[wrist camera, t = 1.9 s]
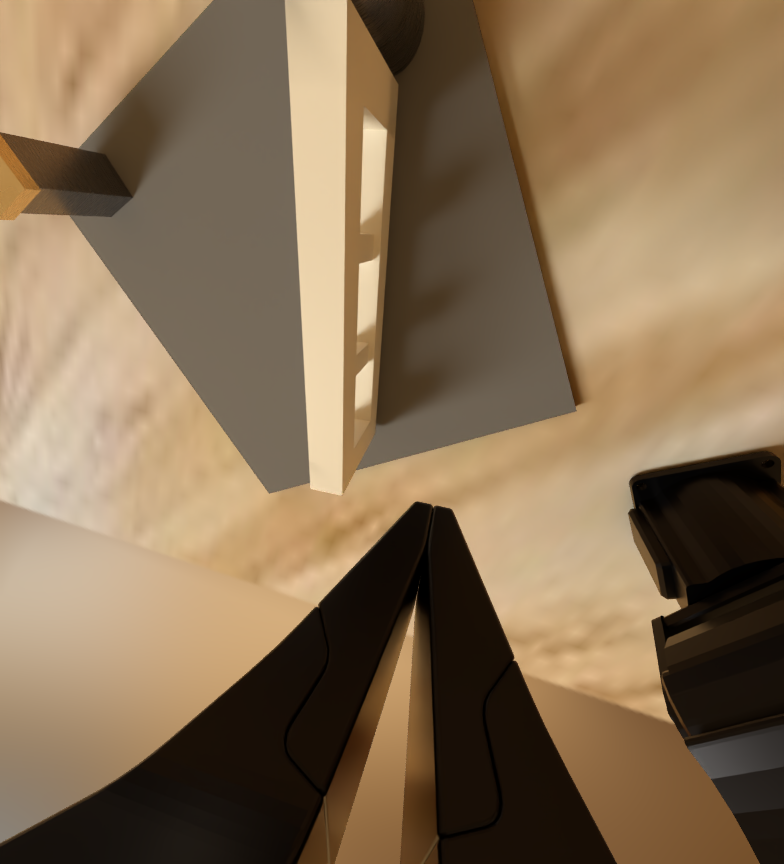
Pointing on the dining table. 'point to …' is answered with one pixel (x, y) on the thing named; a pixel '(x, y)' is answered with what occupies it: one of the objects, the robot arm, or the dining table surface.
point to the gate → (340, 225)
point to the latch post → (56, 180)
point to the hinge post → (394, 28)
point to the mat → (278, 248)
